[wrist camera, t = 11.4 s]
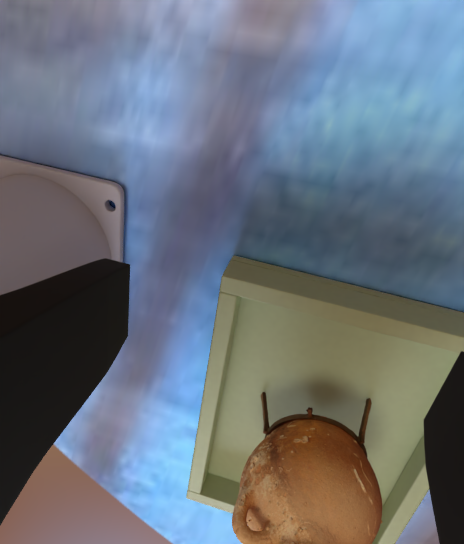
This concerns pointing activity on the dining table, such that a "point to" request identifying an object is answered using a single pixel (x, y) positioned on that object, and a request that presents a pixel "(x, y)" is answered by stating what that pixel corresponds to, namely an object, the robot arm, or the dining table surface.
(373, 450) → the tray
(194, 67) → the dining table surface
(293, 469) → the pot
